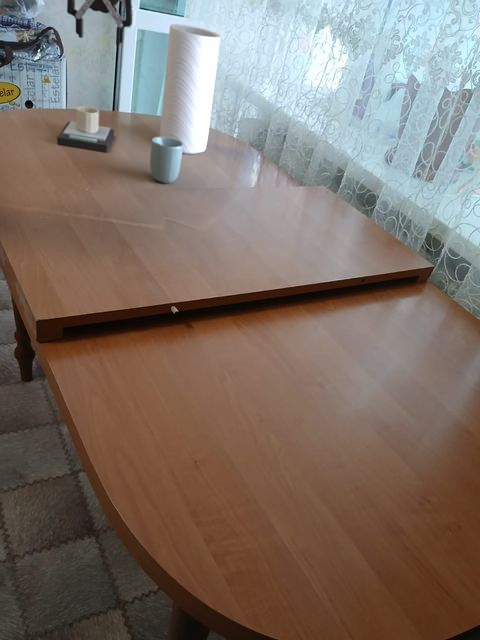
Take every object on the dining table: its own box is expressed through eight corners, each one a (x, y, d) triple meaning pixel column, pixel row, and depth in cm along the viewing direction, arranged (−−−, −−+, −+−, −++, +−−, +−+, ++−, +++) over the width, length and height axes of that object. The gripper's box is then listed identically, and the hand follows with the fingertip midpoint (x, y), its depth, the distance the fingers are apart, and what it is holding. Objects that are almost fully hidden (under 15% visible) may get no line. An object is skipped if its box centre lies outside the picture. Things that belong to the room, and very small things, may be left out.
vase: (215, 152, 169) (232, 38, 150) (181, 157, 159) (194, 36, 140) (184, 136, 175) (196, 25, 156) (149, 140, 165) (157, 22, 147)
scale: (57, 144, 148) (57, 134, 146) (68, 128, 160) (68, 119, 158) (106, 152, 150) (106, 143, 149) (113, 136, 162) (114, 127, 160)
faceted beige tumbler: (74, 131, 151) (74, 110, 148) (78, 124, 156) (78, 104, 153) (96, 135, 152) (97, 114, 149) (100, 128, 157) (100, 108, 154)
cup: (170, 188, 139) (174, 149, 133) (143, 179, 140) (146, 140, 134) (183, 180, 145) (188, 142, 139) (157, 172, 146) (160, 134, 140)
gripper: (63, -49, 115) (65, 37, 125) (132, -33, 118) (128, 50, 127) (70, -50, 121) (71, 32, 131) (135, -35, 124) (131, 44, 133)
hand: (99, 41), depth 129 cm, fingers open, 8 cm apart
